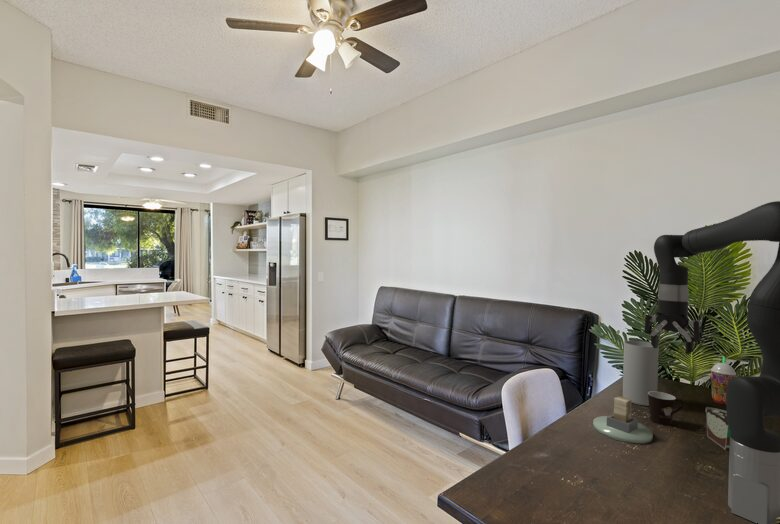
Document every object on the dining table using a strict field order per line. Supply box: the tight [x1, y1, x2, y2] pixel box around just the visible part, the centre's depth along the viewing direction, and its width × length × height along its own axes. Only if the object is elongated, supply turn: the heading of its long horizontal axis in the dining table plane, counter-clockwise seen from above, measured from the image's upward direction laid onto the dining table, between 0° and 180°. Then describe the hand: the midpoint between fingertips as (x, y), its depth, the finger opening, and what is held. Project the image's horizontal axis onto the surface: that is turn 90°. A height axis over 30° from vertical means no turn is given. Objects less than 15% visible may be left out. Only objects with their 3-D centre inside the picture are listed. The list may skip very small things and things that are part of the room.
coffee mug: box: [648, 391, 684, 426], centre depth 141 cm, size 12×9×10 cm
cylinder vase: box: [622, 340, 660, 407], centre depth 162 cm, size 12×12×25 cm
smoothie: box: [710, 356, 737, 406], centre depth 162 cm, size 8×8×20 cm
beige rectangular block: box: [613, 395, 632, 423], centre depth 133 cm, size 4×4×10 cm
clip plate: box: [592, 413, 654, 445], centre depth 133 cm, size 18×18×4 cm
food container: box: [705, 406, 730, 451], centre depth 125 cm, size 12×6×10 cm, turn 168°
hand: (671, 350), depth 116 cm, fingers open, 8 cm apart
